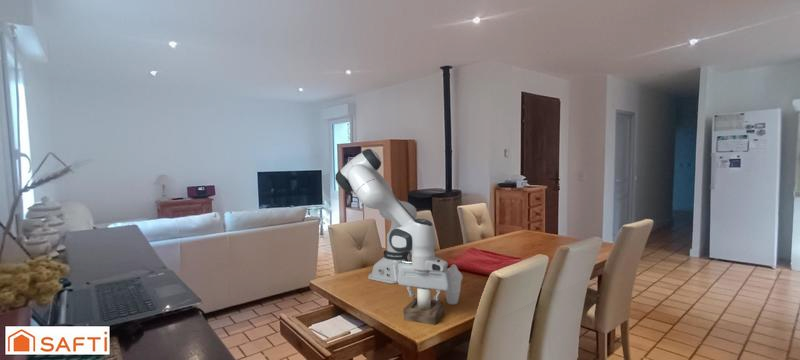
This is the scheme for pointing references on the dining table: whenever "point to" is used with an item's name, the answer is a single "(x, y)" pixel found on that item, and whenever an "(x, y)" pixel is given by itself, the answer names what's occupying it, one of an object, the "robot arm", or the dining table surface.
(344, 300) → the dining table surface
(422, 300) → the white wax pillar
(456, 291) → the soft serve ice cream cone
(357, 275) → the dining table surface
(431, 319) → the holder
